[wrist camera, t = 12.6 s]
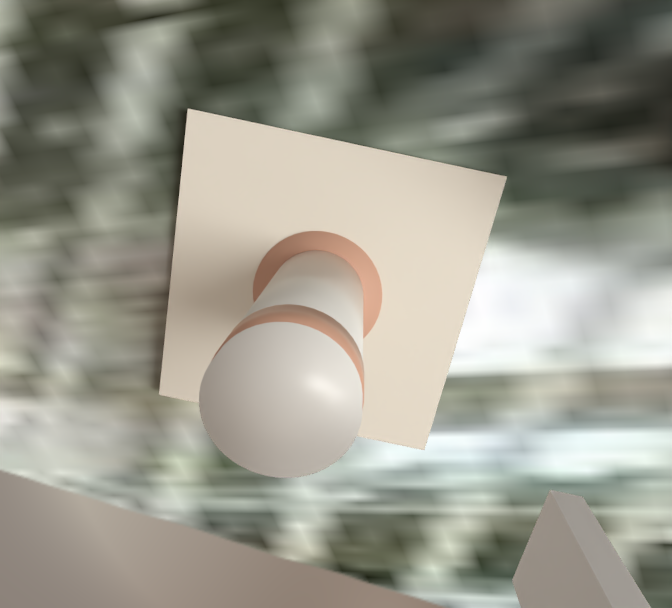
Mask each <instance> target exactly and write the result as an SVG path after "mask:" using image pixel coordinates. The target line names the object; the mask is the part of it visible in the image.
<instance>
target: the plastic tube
mask: <svg viewBox="0 0 672 608" xmlns="http://www.w3.org/2000/svg"><path fill="white" fill-rule="evenodd" d="M363 297H364V294H363V287H362V283H361V280H360V278H359V276H358V274H357V272H356V271H355V269H354V268H353V267H352V266H351V265H350V264H349V263H348V262H347V261H346V260H344V259H343V258H342V257H340V256H338V255H336V254H333V253H331V252H327V251H321V250H311V251H305V252H301V253H299V254H296V255H294V256H293V257H291V258H289V259H288V260H287V261H286V262H285V263H284V264H283V265H282V266H281V267H280V268H279V270H278V271H277V272H276V274H275V275H274V276H273V278H272V279H271V281H270V282H269V283H268V285H267V286H266V287H265V289H264V290H263V291H262V293H261V294H260V296H259V297H258V298H257V300H256V301H255V302H254V304H253V305H252V307H251V308H250V309H249V311H248V312H247V313H246V315H245V316H244V317H243V319H242V320H241V322H240V323H239V324H238V325H237V326H236V327H235V328H234V329H233V330H232V332H231V333H230V334H229V336H228V337H227V338H226V340H225V341H224V342H223V344H222V345H221V346H220V348H219V349H218V350H217V352H216V353H215V355H214V357H213V359H212V360H211V363H210V364H209V366H208V368H207V369H206V371H205V373H204V376H203V379H202V381H201V386H200V391H199V408H200V414H201V418H202V421H203V424H204V426H205V429H206V431H207V433H208V434H209V436H210V438H211V439H212V441H213V442H214V443H215V445H216V446H217V447H218V448H219V449H220V450H221V451H222V452H223V453H224V454H225V455H226V456H227V457H228V458H230V459H231V460H232V461H234V462H235V463H237V464H238V465H240V466H242V467H244V468H246V469H248V470H250V471H253V472H255V473H258V474H262V475H266V476H271V477H278V478H293V477H301V476H306V475H310V474H313V473H316V472H319V471H321V470H323V469H325V468H327V467H329V466H330V465H332V464H334V463H335V462H336V461H337V460H339V459H340V458H341V457H342V456H343V455H344V454H345V453H346V452H347V451H348V449H349V448H350V447H351V445H352V444H353V442H354V440H355V438H356V436H357V434H358V431H359V428H360V425H361V420H362V411H363V405H364V365H363Z"/></svg>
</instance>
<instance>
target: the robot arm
mask: <svg viewBox="0 0 672 608" xmlns="http://www.w3.org/2000/svg"><path fill="white" fill-rule="evenodd" d="M512 582H513V585H514V588H515V591H516V594H517V597H518V600H519V603H520V606H521V608H651V607H650V606H649V604H648V602H647V601H646V599H645V597H644V596H643V594H642V593H641V591H640V589H639V588H638V586H637V584H636V583H635V581H634V580H633V578H632V576H631V575H630V573H629V571H628V570H627V568H626V566H625V565H624V563H623V562H622V560H621V558H620V557H619V555H618V553H617V552H616V550H615V549H614V547H613V545H612V544H611V542H610V540H609V539H608V537H607V535H606V534H605V532H604V531H603V529H602V527H601V526H600V524H599V522H598V521H597V519H596V518H595V516H594V514H593V513H592V511H591V509H590V508H589V506H588V504H587V503H586V501H585V500H584V498H583V497H581V496H577V495H572V494H567V493H563V492H558V491H553V490H550V491H549V493H548V496H547V498H546V501H545V503H544V505H543V508H542V510H541V513H540V515H539V517H538V520H537V522H536V524H535V527H534V529H533V532H532V534H531V536H530V539H529V541H528V544H527V546H526V548H525V551H524V553H523V556H522V558H521V560H520V563H519V565H518V568H517V570H516V572H515V575H514V577H513V580H512Z"/></svg>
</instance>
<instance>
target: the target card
mask: <svg viewBox="0 0 672 608" xmlns="http://www.w3.org/2000/svg"><path fill="white" fill-rule="evenodd" d="M506 179H507V177H506V176H501V175H496V174H492V173H487V172H482V171H478V170H473V169H468V168H464V167H459V166H454V165H450V164H445V163H440V162H436V161H431V160H426V159H422V158H417V157H412V156H408V155H403V154H398V153H394V152H389V151H384V150H379V149H375V148H370V147H365V146H361V145H356V144H351V143H347V142H342V141H337V140H333V139H328V138H323V137H319V136H314V135H309V134H305V133H300V132H295V131H291V130H286V129H281V128H277V127H272V126H267V125H262V124H258V123H253V122H248V121H244V120H239V119H234V118H230V117H225V116H220V115H216V114H211V113H206V112H202V111H197V110H192V109H188V111H187V121H186V131H185V141H184V151H183V161H182V171H181V181H180V191H179V201H178V211H177V221H176V231H175V241H174V251H173V261H172V271H171V281H170V291H169V300H168V310H167V320H166V330H165V340H164V350H163V360H162V370H161V380H160V390H159V395H163V396H168V397H173V398H177V399H182V400H187V401H192V402H197V403H199V391H200V386H201V381H202V379H203V376H204V373H205V371H206V369H207V368H208V366H209V364H210V363H211V360H212V359H213V357H214V355H215V353H216V352H217V350H218V349H219V348H220V346H221V345H222V344H223V342H224V341H225V340H226V338H227V337H228V336H229V334H230V333H231V332H232V330H233V329H234V328H235V327H236V326H237V325H238V324H239V323H240V322H241V320H242V319H243V317H244V316H245V315H246V313H247V312H248V311H249V309H250V308H251V307H252V305H253V304H254V302H255V301H256V300H257V298H258V297H259V296H260V294H261V293H262V291H263V290H264V289H265V287H266V286H267V285H268V283H269V282H270V281H271V279H272V278H273V276H274V275H275V274H276V272H277V271H278V270H279V268H280V267H281V266H282V265H283V264H284V263H285V262H286V261H287V260H288V259H289V258H291V257H293V256H294V255H296V254H299V253H301V252H305V251H311V250H321V251H327V252H331V253H333V254H336V255H338V256H340V257H342V258H343V259H344V260H346V261H347V262H348V263H349V264H350V265H351V266H352V267H353V268H354V269H355V271H356V272H357V274H358V276H359V278H360V280H361V283H362V287H363V294H364V297H363V365H364V405H363V411H362V420H361V425H360V428H359V431H358V434H357V436H359V437H364V438H369V439H373V440H378V441H383V442H388V443H392V444H397V445H402V446H407V447H411V448H416V449H421V450H424V449H425V446H426V443H427V439H428V436H429V433H430V429H431V426H432V423H433V420H434V416H435V413H436V410H437V406H438V403H439V400H440V396H441V393H442V390H443V387H444V383H445V380H446V377H447V373H448V370H449V367H450V363H451V360H452V357H453V354H454V350H455V347H456V344H457V340H458V337H459V334H460V330H461V327H462V324H463V321H464V317H465V314H466V311H467V307H468V304H469V301H470V297H471V294H472V291H473V288H474V284H475V281H476V278H477V274H478V271H479V268H480V264H481V261H482V258H483V255H484V251H485V248H486V245H487V241H488V238H489V235H490V231H491V228H492V225H493V222H494V218H495V215H496V212H497V208H498V205H499V202H500V198H501V195H502V192H503V189H504V185H505V182H506Z"/></svg>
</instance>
